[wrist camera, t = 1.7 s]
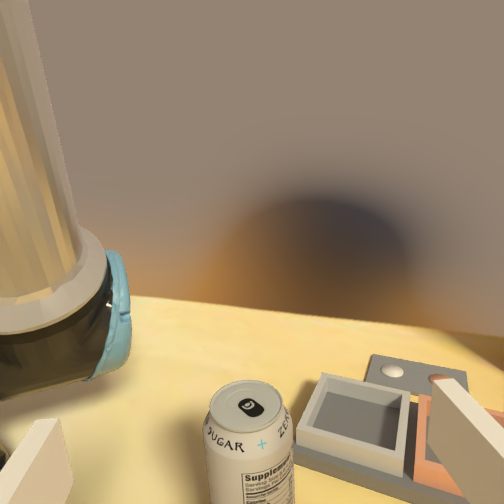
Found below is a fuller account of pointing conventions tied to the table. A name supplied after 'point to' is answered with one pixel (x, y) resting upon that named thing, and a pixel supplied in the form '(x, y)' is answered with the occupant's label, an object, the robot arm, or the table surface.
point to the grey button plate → (410, 375)
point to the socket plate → (374, 440)
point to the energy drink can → (249, 445)
